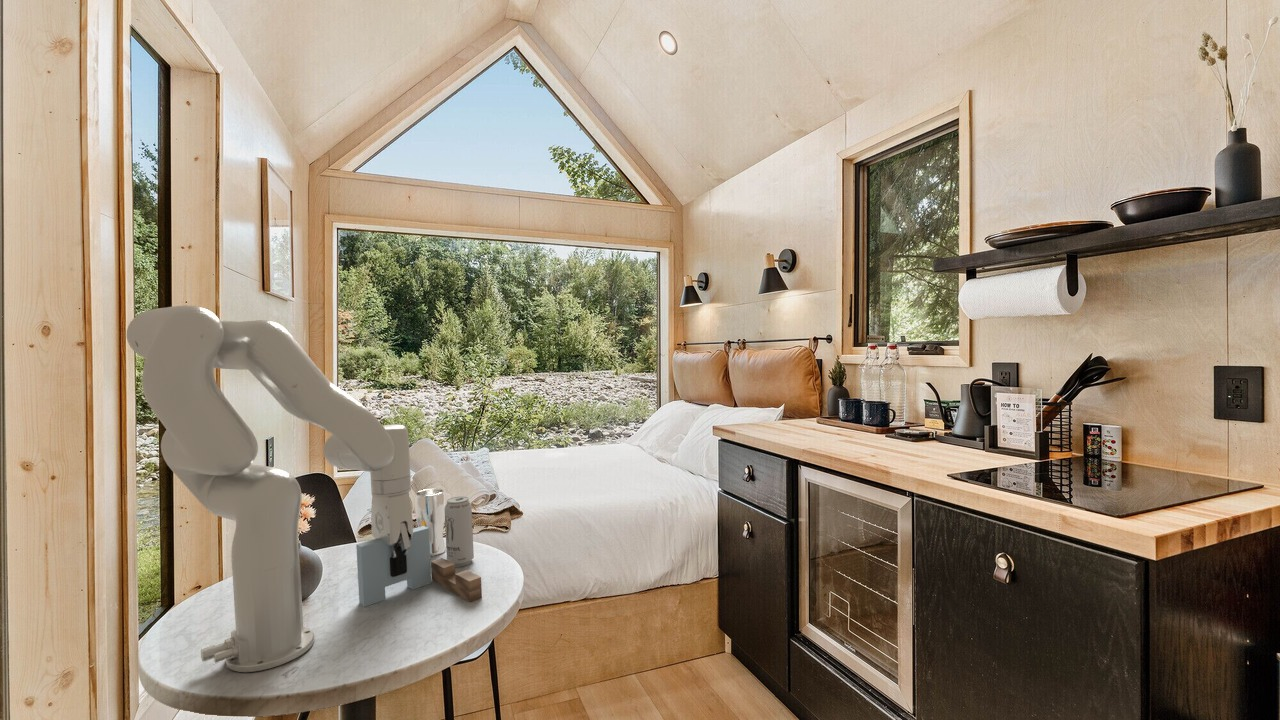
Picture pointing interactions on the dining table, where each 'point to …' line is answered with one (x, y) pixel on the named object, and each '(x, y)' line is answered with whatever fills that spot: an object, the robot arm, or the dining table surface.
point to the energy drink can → (459, 531)
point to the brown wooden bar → (456, 580)
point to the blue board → (377, 566)
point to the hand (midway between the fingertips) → (395, 572)
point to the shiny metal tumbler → (432, 517)
